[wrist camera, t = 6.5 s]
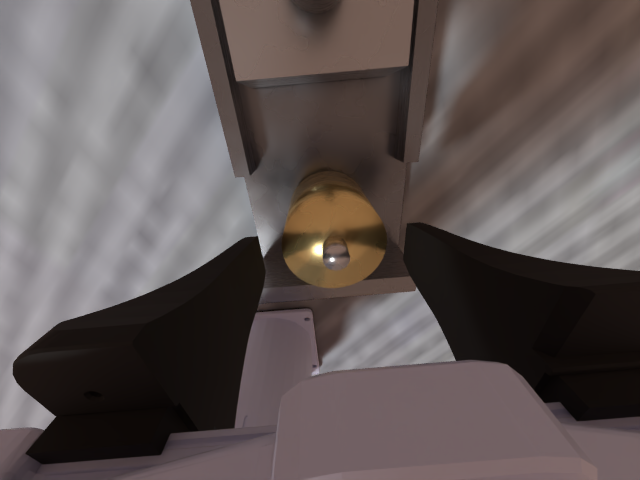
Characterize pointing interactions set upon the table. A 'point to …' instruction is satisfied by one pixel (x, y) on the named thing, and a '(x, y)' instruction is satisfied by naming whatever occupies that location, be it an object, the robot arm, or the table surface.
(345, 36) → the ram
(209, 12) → the press frame
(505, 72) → the table surface
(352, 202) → the gold bell
